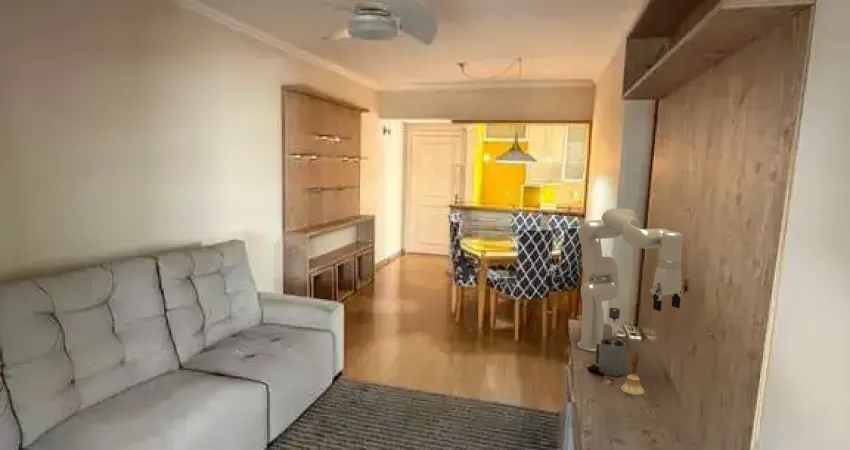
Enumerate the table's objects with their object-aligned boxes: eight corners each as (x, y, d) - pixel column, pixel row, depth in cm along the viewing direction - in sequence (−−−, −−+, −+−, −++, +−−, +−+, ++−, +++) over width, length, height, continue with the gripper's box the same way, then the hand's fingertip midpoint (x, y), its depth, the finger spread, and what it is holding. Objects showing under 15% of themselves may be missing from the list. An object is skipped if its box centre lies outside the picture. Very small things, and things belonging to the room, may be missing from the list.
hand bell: (643, 387, 191) (645, 347, 189) (645, 396, 184) (647, 355, 182) (620, 384, 194) (622, 345, 192) (621, 393, 186) (623, 352, 184)
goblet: (604, 344, 208) (606, 306, 206) (621, 346, 206) (623, 307, 204) (604, 349, 202) (605, 310, 200) (621, 352, 200) (623, 312, 198)
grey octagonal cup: (595, 365, 212) (597, 337, 211) (624, 368, 208) (625, 340, 207) (595, 374, 203) (596, 345, 202) (624, 378, 199) (626, 348, 198)
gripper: (677, 260, 193) (674, 303, 195) (644, 264, 186) (641, 308, 188) (694, 264, 186) (691, 308, 188) (661, 268, 179) (657, 314, 181)
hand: (666, 308), depth 188 cm, fingers open, 9 cm apart
